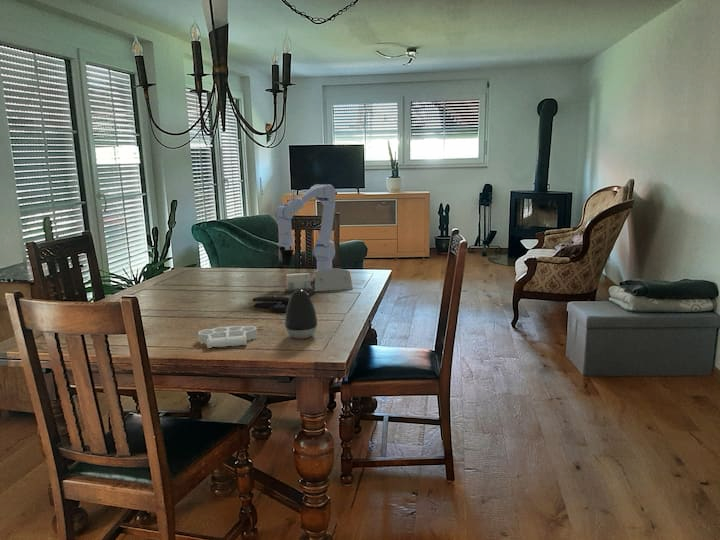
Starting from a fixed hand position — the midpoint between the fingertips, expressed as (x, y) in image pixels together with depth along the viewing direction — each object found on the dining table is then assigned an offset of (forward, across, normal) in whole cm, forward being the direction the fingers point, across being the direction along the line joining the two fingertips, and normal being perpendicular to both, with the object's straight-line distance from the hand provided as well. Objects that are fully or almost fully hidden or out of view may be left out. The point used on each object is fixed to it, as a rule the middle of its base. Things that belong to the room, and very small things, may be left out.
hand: (286, 263), depth 242 cm
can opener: (+11, +36, -10) cm, 39 cm away
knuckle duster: (+11, +70, -26) cm, 76 cm away
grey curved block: (+11, +10, +19) cm, 24 cm away
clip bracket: (+10, +8, +4) cm, 14 cm away
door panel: (+9, +8, +4) cm, 13 cm away
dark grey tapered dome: (+11, +73, -3) cm, 74 cm away
